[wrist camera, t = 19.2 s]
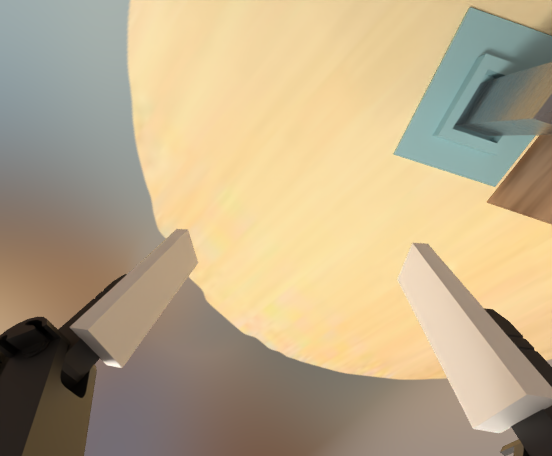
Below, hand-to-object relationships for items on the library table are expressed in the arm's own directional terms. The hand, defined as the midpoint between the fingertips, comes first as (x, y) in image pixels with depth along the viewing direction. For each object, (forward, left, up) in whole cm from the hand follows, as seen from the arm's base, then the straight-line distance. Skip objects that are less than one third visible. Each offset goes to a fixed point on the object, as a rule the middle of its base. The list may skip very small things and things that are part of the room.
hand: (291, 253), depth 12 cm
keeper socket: (-11, +30, -30) cm, 44 cm away
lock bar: (-11, +30, -30) cm, 44 cm away
